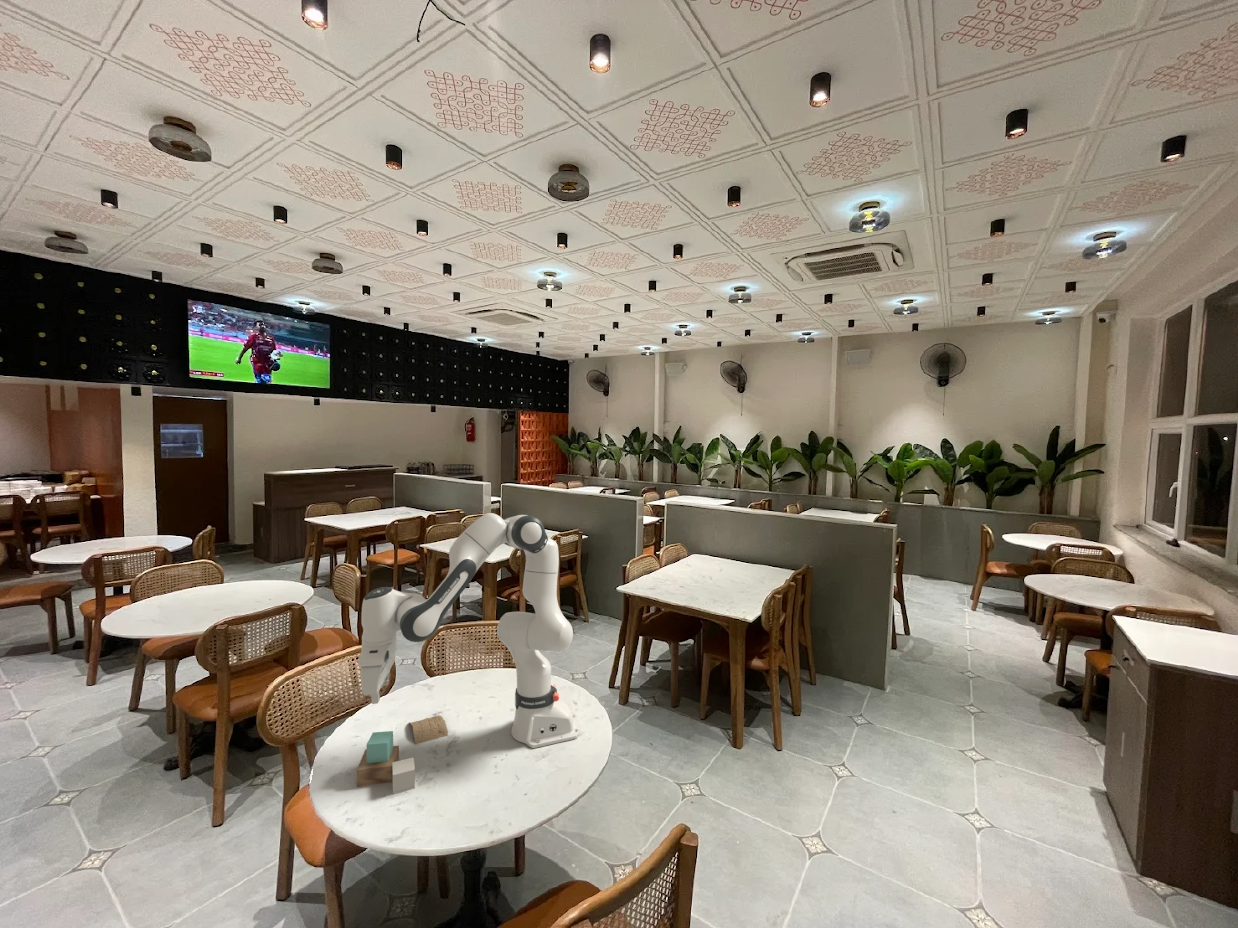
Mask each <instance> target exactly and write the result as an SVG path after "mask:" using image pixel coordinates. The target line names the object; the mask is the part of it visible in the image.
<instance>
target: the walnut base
mask: <svg viewBox="0 0 1238 928" xmlns="http://www.w3.org/2000/svg"><path fill="white" fill-rule="evenodd" d="M396 761H400V746H399V745H393V750H392V753H391V755H390V757H389V759H388V762H377V763H367V748H366V749H365V750H364V752H363V754H362V757H361V759H360V761H359V763H358V765H357V767H356V768H357V769H356V787H363V786H370V785H371V786H372V785H378V784H387V783H388V784H389V783H393V782H392V762H396Z"/></svg>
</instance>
